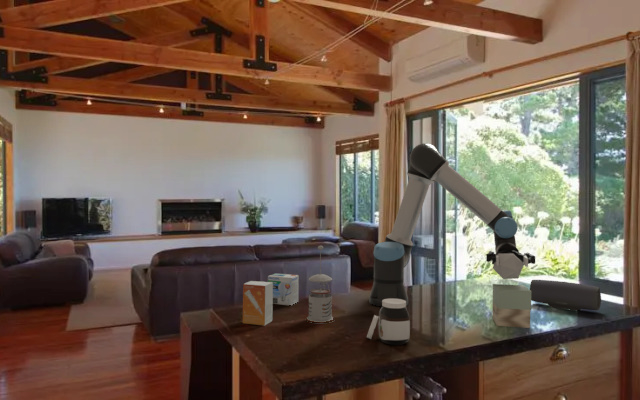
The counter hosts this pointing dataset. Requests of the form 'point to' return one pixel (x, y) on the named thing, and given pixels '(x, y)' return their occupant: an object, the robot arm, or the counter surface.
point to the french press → (320, 298)
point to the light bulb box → (284, 288)
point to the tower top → (511, 296)
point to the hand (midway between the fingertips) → (512, 261)
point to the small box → (257, 302)
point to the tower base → (511, 317)
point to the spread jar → (392, 322)
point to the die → (508, 266)
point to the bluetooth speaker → (565, 295)
